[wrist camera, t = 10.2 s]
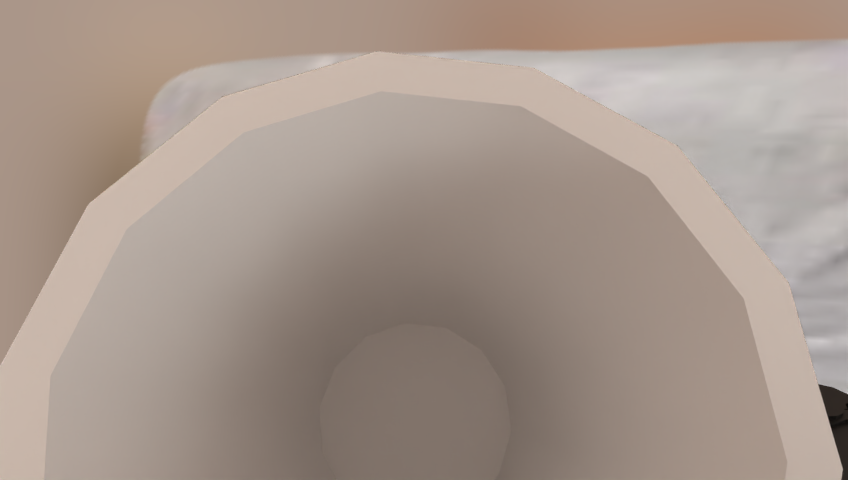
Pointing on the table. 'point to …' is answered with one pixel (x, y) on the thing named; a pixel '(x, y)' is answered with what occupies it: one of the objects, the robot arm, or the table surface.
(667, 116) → the table surface
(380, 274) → the foam cup
